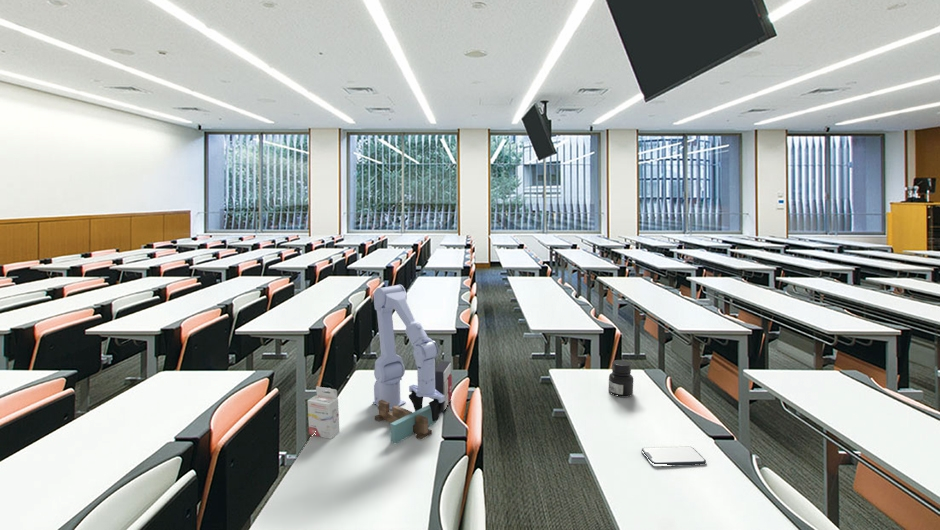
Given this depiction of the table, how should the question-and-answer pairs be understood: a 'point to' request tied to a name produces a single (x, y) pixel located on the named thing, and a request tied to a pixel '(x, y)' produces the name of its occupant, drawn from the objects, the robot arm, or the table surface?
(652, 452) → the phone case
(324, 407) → the ink cartridge box
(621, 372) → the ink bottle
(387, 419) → the walnut stand
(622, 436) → the table surface
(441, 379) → the dark grey box
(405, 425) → the teal plate
